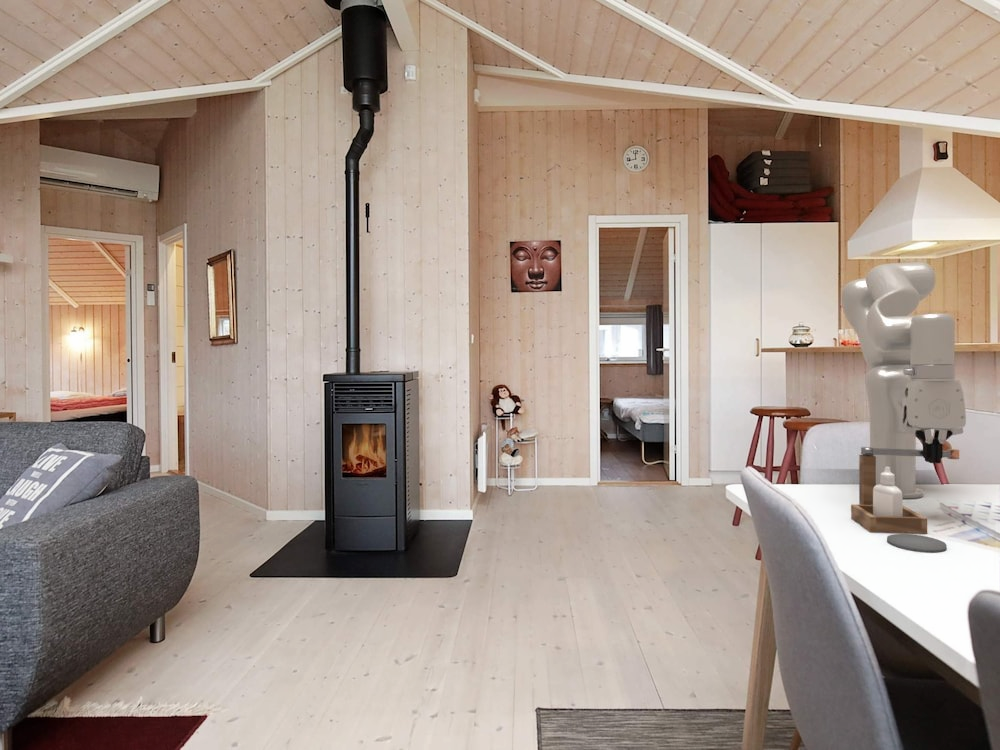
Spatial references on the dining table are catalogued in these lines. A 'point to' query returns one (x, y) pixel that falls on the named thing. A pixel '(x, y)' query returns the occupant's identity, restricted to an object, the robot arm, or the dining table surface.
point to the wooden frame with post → (864, 510)
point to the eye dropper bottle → (887, 496)
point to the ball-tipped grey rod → (906, 452)
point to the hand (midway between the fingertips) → (932, 462)
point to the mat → (916, 543)
